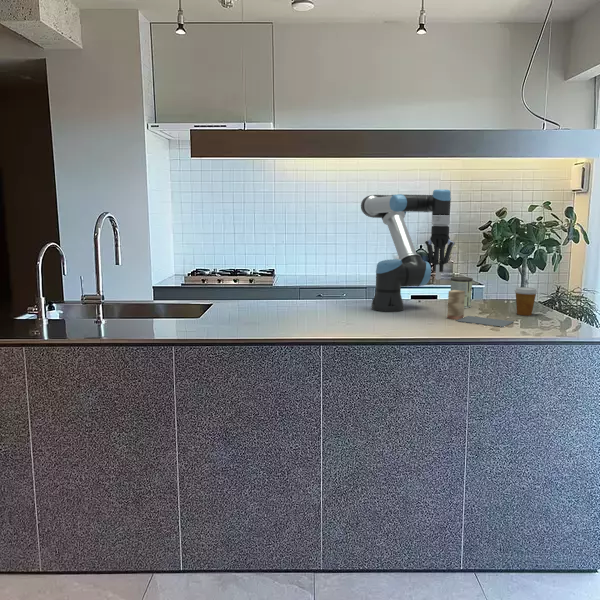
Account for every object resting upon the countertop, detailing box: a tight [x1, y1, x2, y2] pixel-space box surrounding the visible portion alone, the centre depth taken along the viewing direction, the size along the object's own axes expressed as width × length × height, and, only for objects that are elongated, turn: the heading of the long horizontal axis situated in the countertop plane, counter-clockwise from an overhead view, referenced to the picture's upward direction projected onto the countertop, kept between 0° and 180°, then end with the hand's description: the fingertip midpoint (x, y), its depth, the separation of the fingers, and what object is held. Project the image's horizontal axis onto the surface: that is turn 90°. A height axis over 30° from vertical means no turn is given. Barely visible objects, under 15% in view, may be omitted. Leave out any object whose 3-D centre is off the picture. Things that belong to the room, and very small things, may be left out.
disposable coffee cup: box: [514, 286, 538, 317], centre depth 255 cm, size 10×10×12 cm
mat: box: [455, 315, 515, 328], centre depth 238 cm, size 20×14×1 cm
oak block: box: [446, 290, 465, 321], centre depth 245 cm, size 5×6×12 cm
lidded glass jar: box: [450, 276, 473, 309], centre depth 275 cm, size 10×10×14 cm
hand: (438, 279), depth 249 cm, fingers closed
